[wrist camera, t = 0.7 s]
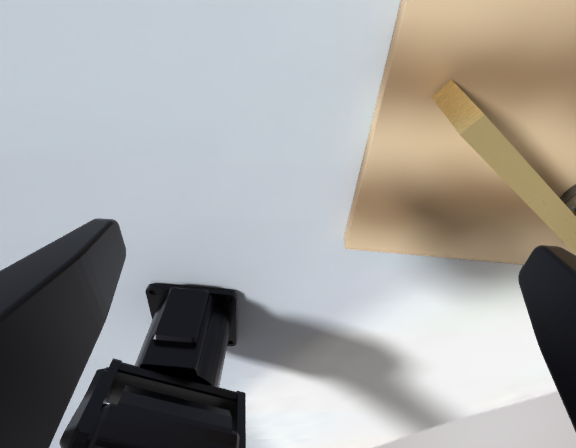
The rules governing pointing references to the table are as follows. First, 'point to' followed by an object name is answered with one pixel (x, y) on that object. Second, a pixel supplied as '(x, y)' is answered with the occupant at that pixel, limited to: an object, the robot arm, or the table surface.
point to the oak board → (450, 145)
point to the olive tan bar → (506, 161)
